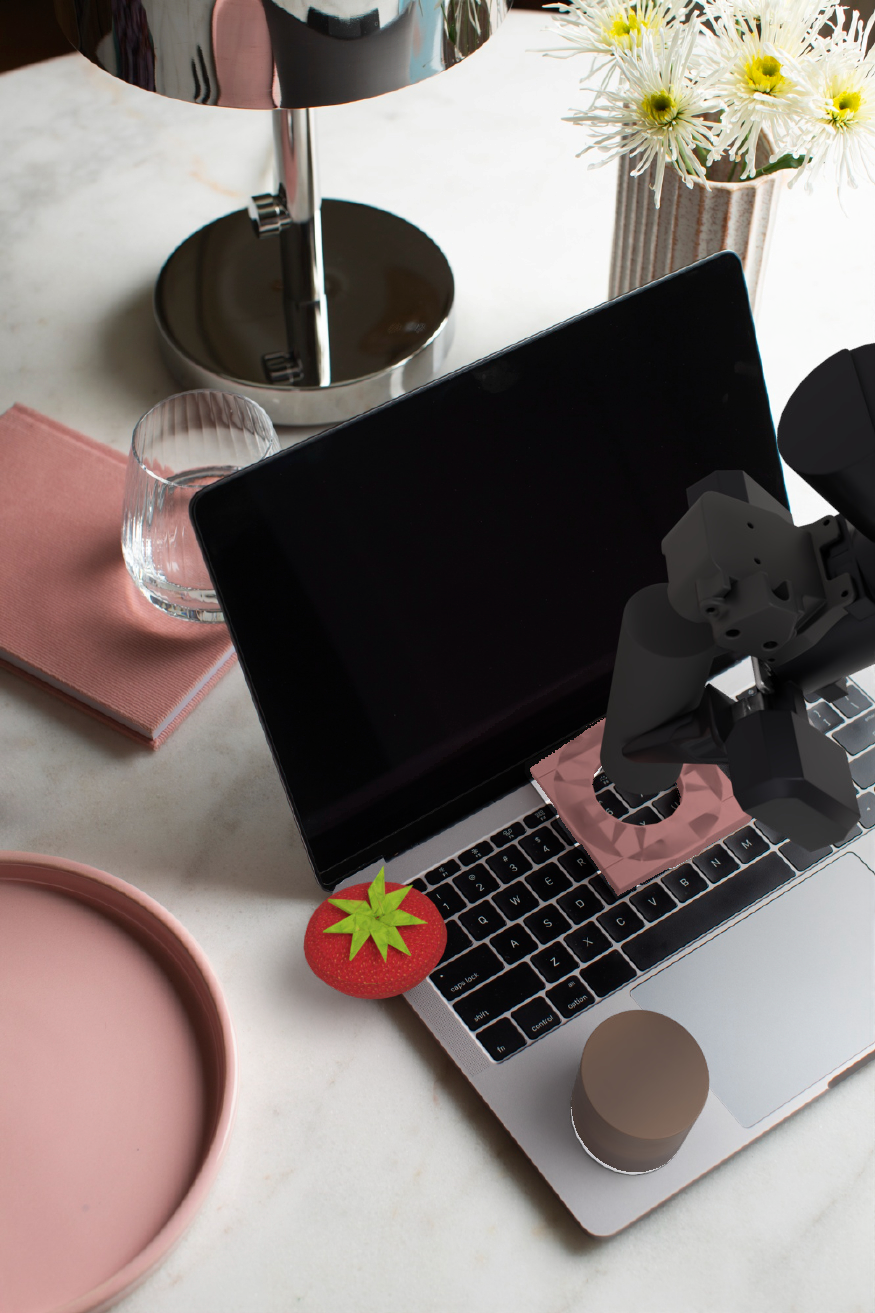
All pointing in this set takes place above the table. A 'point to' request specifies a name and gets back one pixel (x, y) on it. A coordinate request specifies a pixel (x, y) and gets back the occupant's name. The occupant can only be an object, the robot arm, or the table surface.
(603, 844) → the base pad
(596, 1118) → the cylinder
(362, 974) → the strawberry
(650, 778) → the cylindrical post
